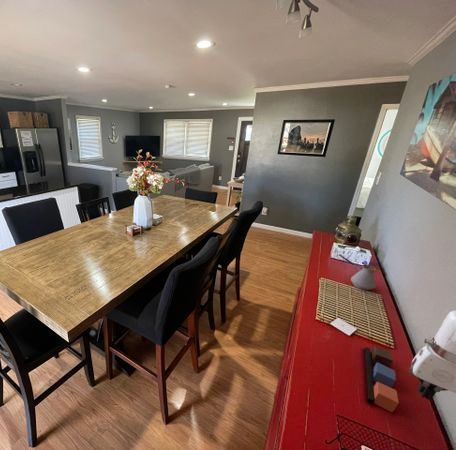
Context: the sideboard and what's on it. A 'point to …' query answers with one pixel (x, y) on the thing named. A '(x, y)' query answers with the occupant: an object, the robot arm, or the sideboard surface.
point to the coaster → (343, 326)
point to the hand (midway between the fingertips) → (423, 394)
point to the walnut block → (381, 356)
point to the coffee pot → (363, 276)
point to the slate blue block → (383, 375)
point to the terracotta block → (385, 397)
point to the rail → (369, 376)
